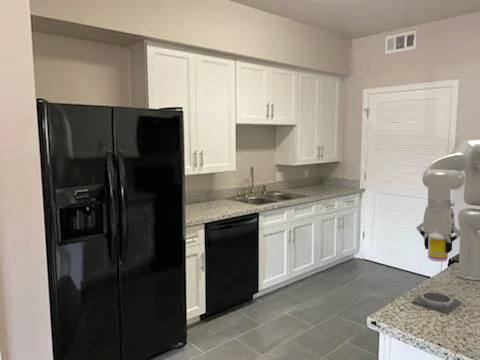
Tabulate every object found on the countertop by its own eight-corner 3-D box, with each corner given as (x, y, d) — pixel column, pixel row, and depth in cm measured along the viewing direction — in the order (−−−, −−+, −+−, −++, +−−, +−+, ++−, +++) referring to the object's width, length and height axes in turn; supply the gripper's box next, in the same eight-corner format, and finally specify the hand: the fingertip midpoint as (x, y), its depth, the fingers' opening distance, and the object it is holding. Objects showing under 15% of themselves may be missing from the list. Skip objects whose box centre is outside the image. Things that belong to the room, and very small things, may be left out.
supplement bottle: (450, 262, 136) (451, 228, 135) (430, 261, 137) (431, 228, 136) (444, 257, 142) (444, 224, 141) (425, 256, 144) (426, 224, 143)
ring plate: (426, 294, 150) (426, 288, 150) (461, 303, 141) (461, 297, 140) (411, 303, 142) (412, 297, 142) (448, 314, 132) (448, 307, 132)
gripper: (468, 205, 134) (466, 252, 135) (419, 200, 147) (418, 244, 148) (460, 208, 129) (459, 257, 131) (411, 203, 142) (410, 248, 144)
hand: (437, 250), depth 139 cm, fingers closed on supplement bottle, 6 cm apart
